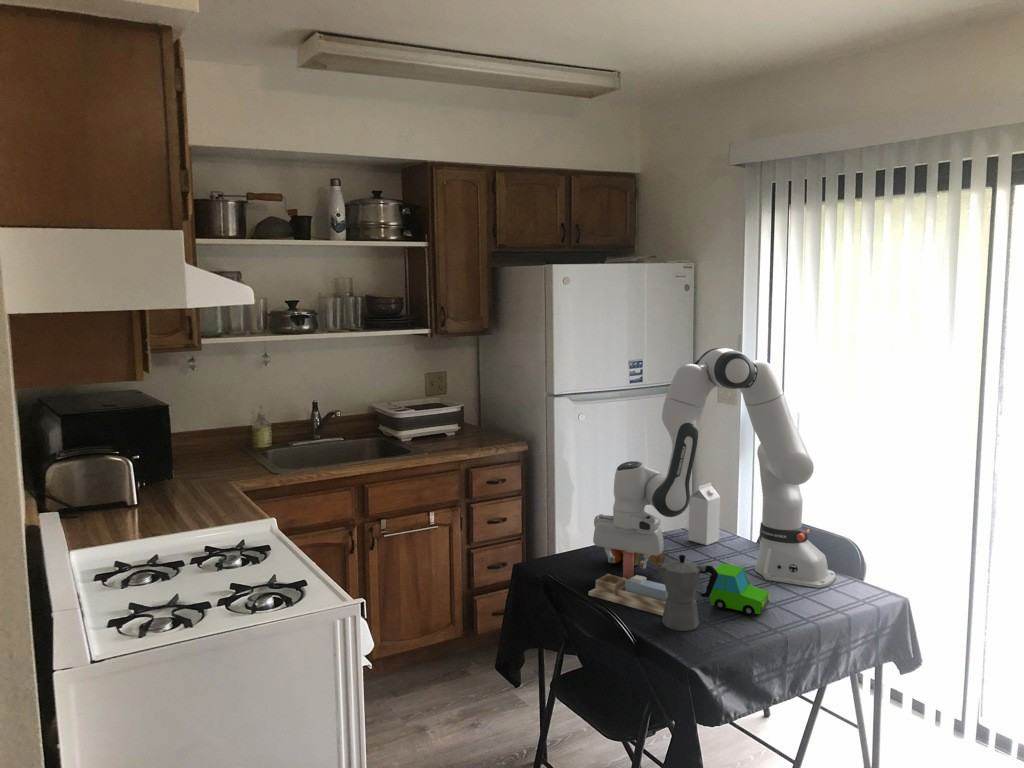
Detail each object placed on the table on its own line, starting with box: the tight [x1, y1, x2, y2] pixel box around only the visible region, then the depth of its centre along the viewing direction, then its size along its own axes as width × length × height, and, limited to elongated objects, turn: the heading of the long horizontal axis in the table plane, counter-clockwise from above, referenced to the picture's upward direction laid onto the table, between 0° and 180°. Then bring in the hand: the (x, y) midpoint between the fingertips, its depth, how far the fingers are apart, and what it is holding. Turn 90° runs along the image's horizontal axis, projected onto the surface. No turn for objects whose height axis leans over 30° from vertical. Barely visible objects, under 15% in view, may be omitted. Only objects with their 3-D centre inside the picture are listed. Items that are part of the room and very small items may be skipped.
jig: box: [588, 573, 666, 617], centre depth 229 cm, size 23×12×4 cm, turn 52°
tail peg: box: [622, 551, 635, 580], centre depth 242 cm, size 3×3×8 cm
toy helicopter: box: [606, 549, 666, 567], centre depth 252 cm, size 8×21×14 cm, turn 37°
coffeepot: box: [654, 554, 718, 632], centre depth 211 cm, size 15×9×18 cm, turn 80°
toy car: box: [710, 562, 771, 617], centre depth 222 cm, size 10×13×10 cm
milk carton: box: [687, 482, 721, 546], centre depth 275 cm, size 7×7×19 cm
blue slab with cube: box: [625, 574, 668, 602], centre depth 226 cm, size 12×4×5 cm, turn 52°
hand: (627, 565), depth 243 cm, fingers open, 8 cm apart
